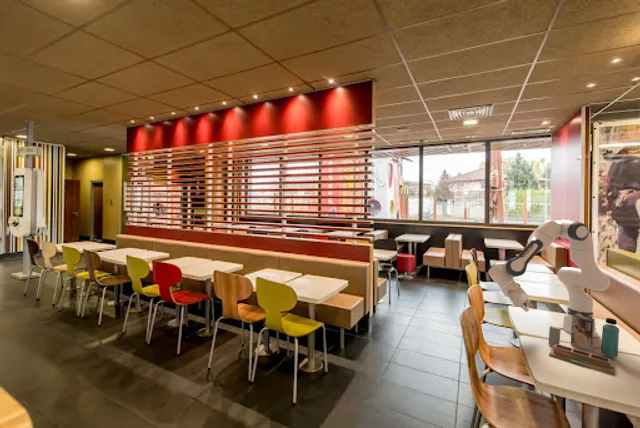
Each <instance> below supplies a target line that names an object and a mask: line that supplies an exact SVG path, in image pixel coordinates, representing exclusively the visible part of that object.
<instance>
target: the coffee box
mask: <svg viewBox="0 0 640 428" xmlns="http://www.w3.org/2000/svg"><path fill="white" fill-rule="evenodd" d="M595 321H596V320H595V318H594V317H593V318H588V317H584V316H580V315H575V314H574V315H573V316H572V328H571V333H570V345H571V346H573V345H574V346H573V347H578V348H580V347H581V349H584V350H587V351H593V349H594V338H595V337H594V322H595ZM595 323H596V322H595Z"/></svg>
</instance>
